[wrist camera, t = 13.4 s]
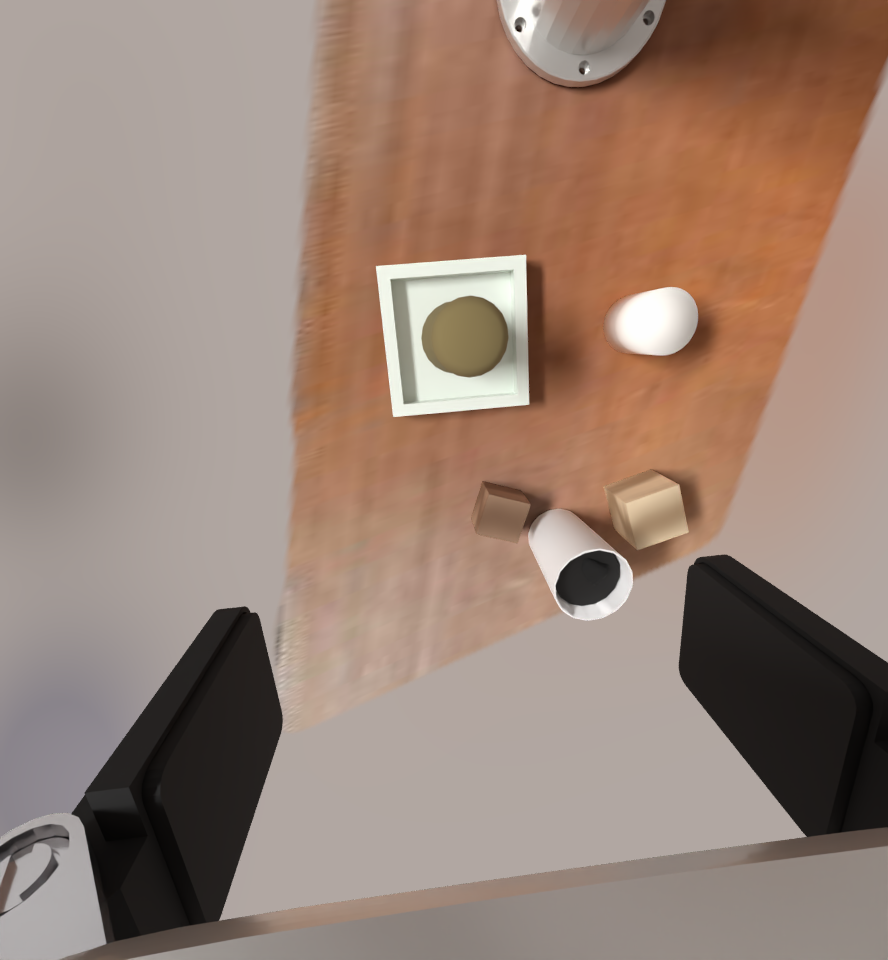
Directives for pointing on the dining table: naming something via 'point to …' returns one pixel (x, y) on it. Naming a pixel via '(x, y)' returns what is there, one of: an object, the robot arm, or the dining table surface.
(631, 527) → the oak block
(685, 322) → the white rounded cylinder
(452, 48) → the dining table surface
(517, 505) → the walnut block
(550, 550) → the drinking glass
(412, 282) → the tray
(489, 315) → the olive rounded tall piece
